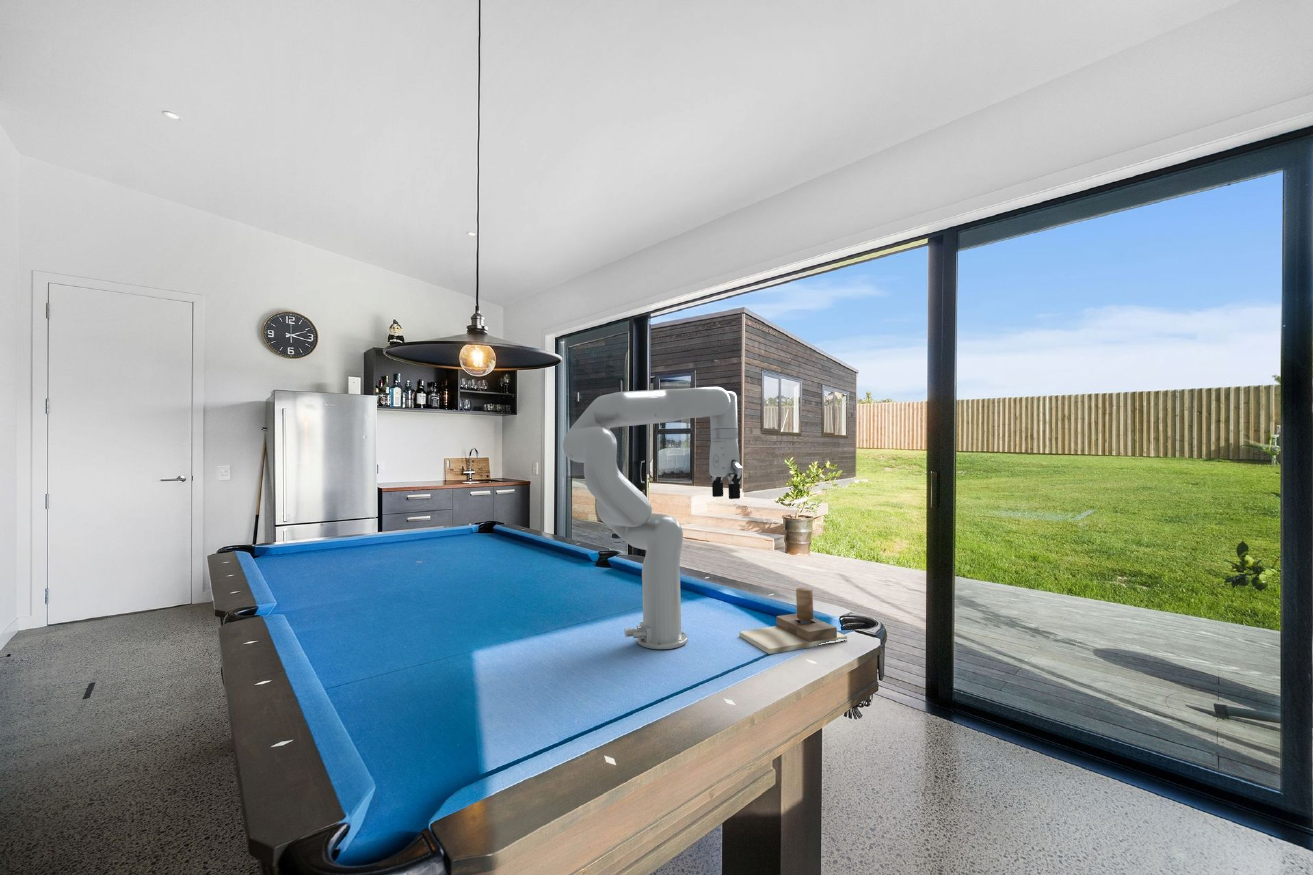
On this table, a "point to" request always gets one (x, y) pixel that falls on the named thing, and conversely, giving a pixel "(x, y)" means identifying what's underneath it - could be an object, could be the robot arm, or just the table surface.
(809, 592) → the tan rounded cylinder
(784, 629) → the subfloor panel
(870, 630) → the table surface
